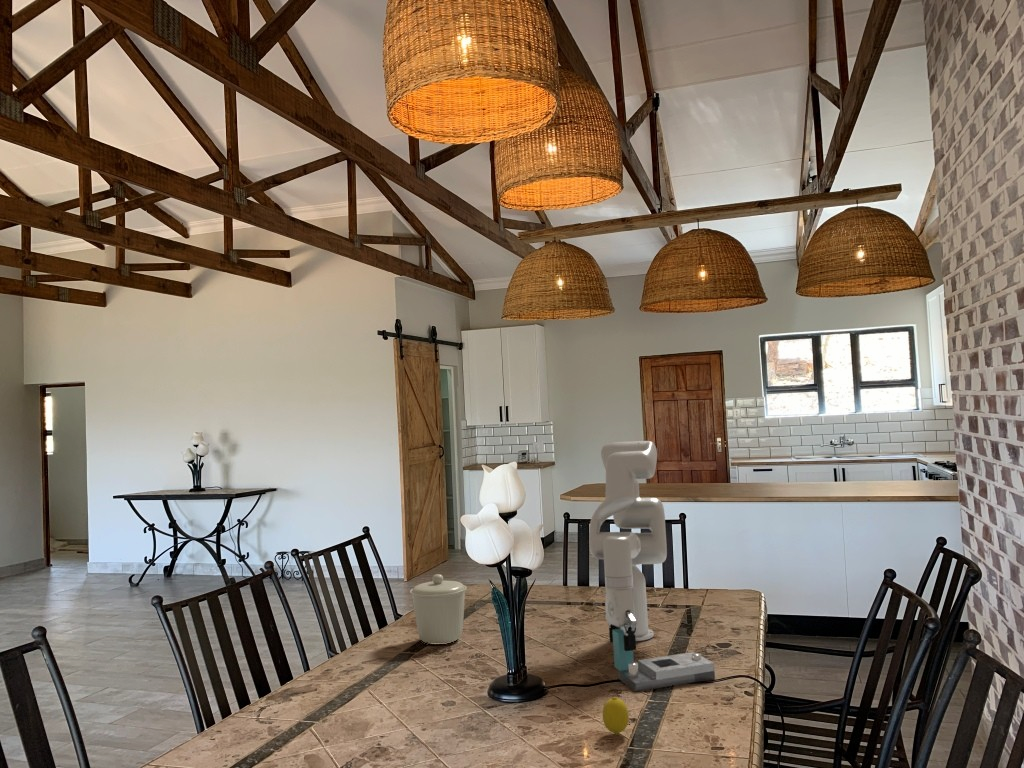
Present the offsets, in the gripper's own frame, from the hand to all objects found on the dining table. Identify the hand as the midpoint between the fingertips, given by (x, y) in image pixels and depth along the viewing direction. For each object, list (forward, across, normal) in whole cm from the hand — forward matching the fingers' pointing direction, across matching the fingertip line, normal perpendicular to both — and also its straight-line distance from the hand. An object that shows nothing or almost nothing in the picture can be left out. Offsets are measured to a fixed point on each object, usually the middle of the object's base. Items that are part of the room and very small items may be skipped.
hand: (622, 646), depth 215 cm
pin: (+6, -1, 0) cm, 6 cm away
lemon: (+7, +40, -20) cm, 45 cm away
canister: (+6, -51, -41) cm, 65 cm away
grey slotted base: (+6, +12, +6) cm, 15 cm away
